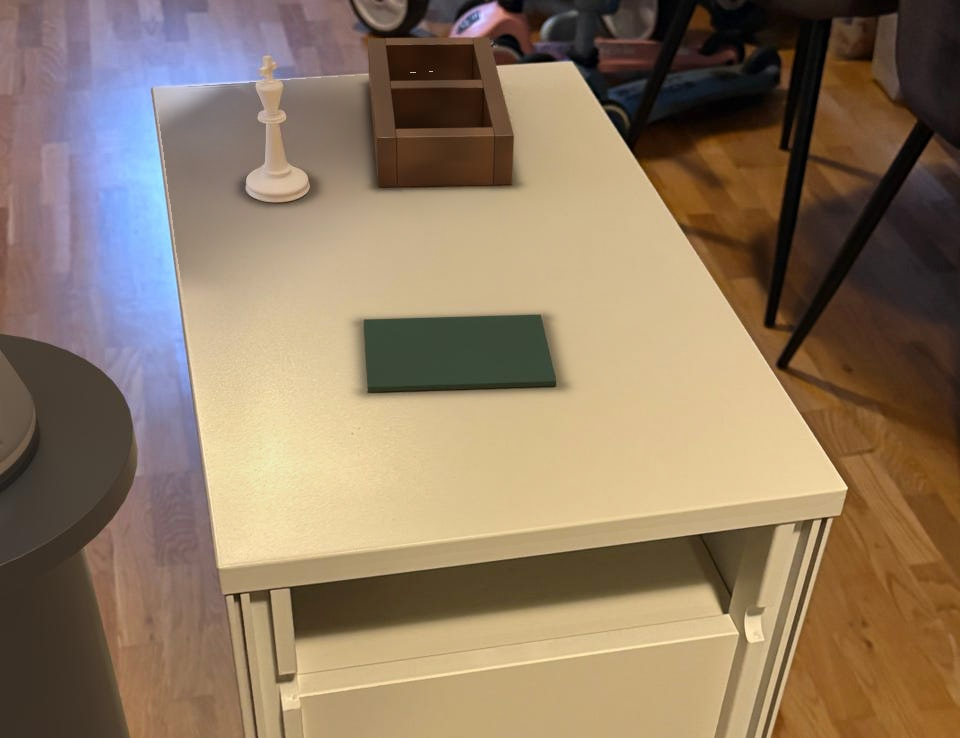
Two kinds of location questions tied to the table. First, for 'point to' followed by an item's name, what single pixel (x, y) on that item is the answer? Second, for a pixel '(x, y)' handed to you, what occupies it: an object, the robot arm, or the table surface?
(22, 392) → the robot arm
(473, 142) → the rack
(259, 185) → the chess piece
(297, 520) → the table surface
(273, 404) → the table surface
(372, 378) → the mat
